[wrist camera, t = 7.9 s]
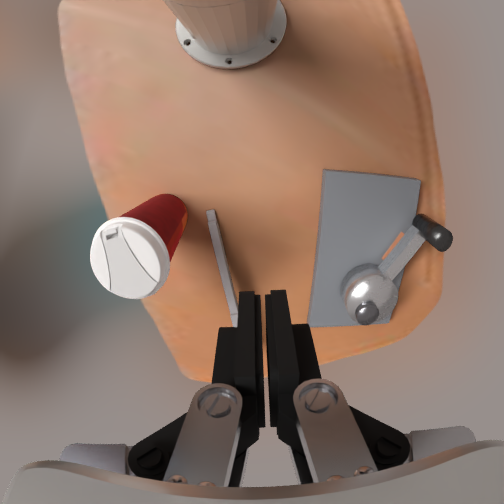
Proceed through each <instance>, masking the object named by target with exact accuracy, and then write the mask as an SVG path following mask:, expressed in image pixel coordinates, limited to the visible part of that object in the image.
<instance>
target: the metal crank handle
mask: <svg viewBox="0 0 504 504" xmlns="http://www.w3.org/2000/svg"><path fill="white" fill-rule="evenodd" d="M425 240H426V241H428V242H429V243H430V244H431V245H432V246H434V247H435V248H436V249H437V250H438V251H441V252H443V251H446V250H447V249H448V248H449V247H450V246H451V244H452V241H453V236H452V233H451V232H450V231H448V230H447V229H446V228H444V227H443V226H441V225H440V224H438V223H437V222H435V221H434V220H432V219H431V218H429V217H428V216H426V215H425V214H418V215H416V216H415V217H414V219H413V221H412V225H411V227H410V228H409V229H408V231H407V232H406V233H405V234H404V236H403V237H402V238H401V239H400V241H399V242H398V243H397V244H396V246H395V247H394V248H393V249H392V251H391V252H390V253H389V254H388V256H387V257H386V258H385V259H384V260H383V262H382V263H381V264H380V265H379V266H378V265H376V264H371V263H367V264H362V265H359V266H356V267H355V268H353V269H352V270H350V271H349V272H348V273H347V274H346V276H345V277H344V278H343V280H342V282H341V286H340V295H341V298H342V300H343V302H344V305H345V307H346V309H347V311H348V314H349V316H350V317H351V319H352V320H353V321H355V322H356V323H359V324H361V325H369V324H374V323H377V322H379V321H381V320H383V319H384V318H386V317H387V316H388V315H389V314H390V313H391V312H392V311H393V309H394V308H395V306H396V304H397V300H398V290H397V288H396V286H395V284H394V283H393V282H392V280H393V279H394V278H395V277H396V276H397V275H398V273H399V272H400V271H401V270H402V269H403V267H404V266H405V265H406V264H407V263H408V261H409V260H410V259H411V258H412V257H413V255H414V254H415V253H416V252H417V250H418V249H419V248H420V247H421V245H422V244H423V243H424V241H425Z"/></svg>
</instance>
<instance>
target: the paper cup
mask: <svg viewBox="0 0 504 504" xmlns="http://www.w3.org/2000/svg"><path fill="white" fill-rule="evenodd" d="M187 218H188V214H187V209H186V207H185V205H184V203H183V202H182V201H181V200H180V199H179V198H178V197H176V196H174V195H171V194H160V195H157V196H155V197H153V198H151V199H149V200H148V201H146V202H144V203H142V204H141V205H139V206H137V207H136V208H134V209H132V210H130V211H128V212H127V213H125V214H123V215H122V216H120V217H118V218H113V219H111V220H108V221H107V222H106V223H104V224H103V225H102V226H101V227H100V228H99V229H98V231H97V232H96V234H95V236H94V238H93V242H92V246H91V252H90V258H91V259H90V260H91V265H92V269H93V271H94V274H95V276H96V277H97V279H98V280H99V282H100V283H101V284H102V285H103V286H104V287H105V288H106V289H107V290H109V291H110V292H112V293H114V294H116V295H119V296H121V297H124V298H132V299H141V298H145V297H148V296H151V295H153V294H155V293H156V292H157V291H158V290H159V289H160V288H161V287H162V286H163V284H164V283H165V281H166V280H167V277H168V275H169V270H170V261H171V259H172V257H173V254H174V252H175V250H176V247H177V245H178V243H179V240H180V238H181V236H182V233H183V231H184V229H185V226H186V223H187Z"/></svg>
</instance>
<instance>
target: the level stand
mask: <svg viewBox="0 0 504 504" xmlns="http://www.w3.org/2000/svg"><path fill="white" fill-rule="evenodd" d="M420 184H421V181H420V180H418V179H416V178H409V177H402V176H393V175H385V174H376V173H366V172H355V171H343V170H329V169H323V176H322V190H321V203H320V215H319V226H318V236H317V246H316V255H315V264H314V273H313V281H312V289H311V296H310V304H309V311H308V318H307V323H308V324H309V326H310V327H333V326H353V325H361V324H359V323H356V322H355V321H353V320H352V319H351V317H350V316H349V314H348V311H347V309H346V307H345V305H344V302H343V300H342V298H341V295H340V286H341V282H342V280H343V278H344V277H345V276H346V274H347V273H348V272H349V271H350V270H352V269H353V268H355V267H356V266H359V265H362V264H367V263H371V264H376V265H378V266H379V265H380V264H381V263H382V262H383V260H384V259H385V258H386V257H387V256H388V254H389V253H390V252H391V251H392V249H393V248H394V247H395V246H396V244H397V243H398V242H399V241H400V239H401V238H402V237H403V236H404V234H405V233H406V232H407V231H408V229H409V228H410V227H411V225H412V221H413V219H414V217H415V216H416V210H417V204H418V198H419V191H420ZM404 268H405V266H404V267H403V269H402V270H401V271H400V272H399V273H398V275H397V276H396V277H395V278H394V279H393V280H392V282H393V283H394V284H395V286H396V288H397V290H398V291H399V287H400V283H401V280H402V276H403V272H404ZM391 314H392V312H391V313H390V314H389V315H388V316H387V317H386V318H384V319H383V320H381V321H379V322H377V323H374V324H384V323H389V321H390V317H391ZM369 325H370V324H369Z"/></svg>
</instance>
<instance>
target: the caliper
mask: <svg viewBox="0 0 504 504" xmlns="http://www.w3.org/2000/svg"><path fill="white" fill-rule="evenodd" d="M206 213H207V218H208V226H209V230H210V235H211V239H212V243H213V247H214V251H215V255H216V259H217V263H218V267H219V271H220V275H221V279H222V283H223V287H224V291H225V295H226V298H227V302H228V306H229V310H230V313H231V315H230V316H231V320H232V324H233V327H237V320H238V303H237V299H236V295H235V291H234V287H233V283H232V279H231V275H230V271H229V267H228V263H227V258H226V254H225V250H224V246H223V242H222V237H221V233H220V229H219V225H218V222H217V219H216V215H215V211H214V209H213V210H209V211H206Z"/></svg>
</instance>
